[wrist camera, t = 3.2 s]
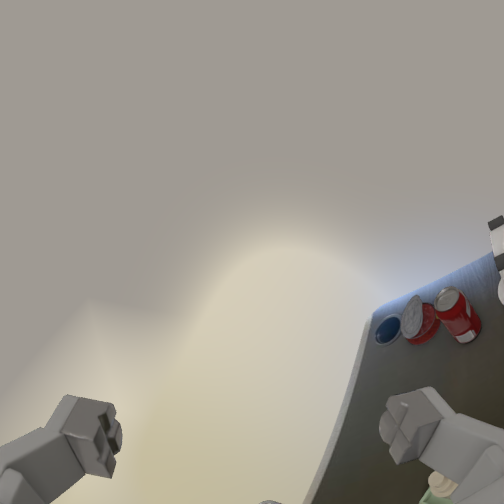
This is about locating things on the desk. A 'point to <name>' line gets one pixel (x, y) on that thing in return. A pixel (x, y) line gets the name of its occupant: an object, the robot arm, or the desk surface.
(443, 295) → the soda can
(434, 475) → the cream bottle
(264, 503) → the file sorter
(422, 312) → the canned food
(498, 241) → the panda figurine
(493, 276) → the desk surface
